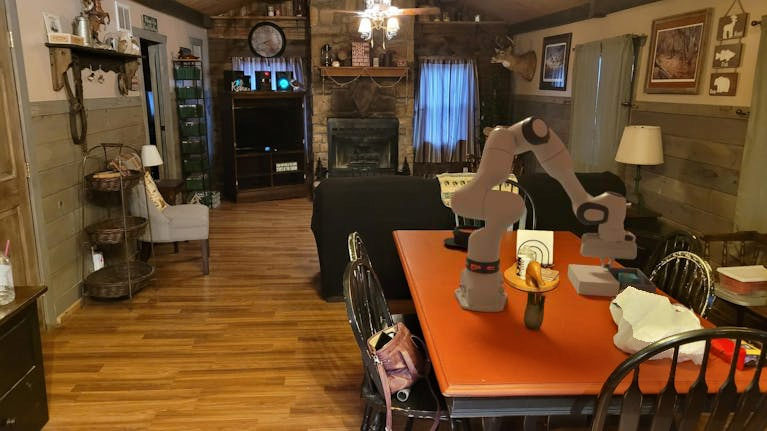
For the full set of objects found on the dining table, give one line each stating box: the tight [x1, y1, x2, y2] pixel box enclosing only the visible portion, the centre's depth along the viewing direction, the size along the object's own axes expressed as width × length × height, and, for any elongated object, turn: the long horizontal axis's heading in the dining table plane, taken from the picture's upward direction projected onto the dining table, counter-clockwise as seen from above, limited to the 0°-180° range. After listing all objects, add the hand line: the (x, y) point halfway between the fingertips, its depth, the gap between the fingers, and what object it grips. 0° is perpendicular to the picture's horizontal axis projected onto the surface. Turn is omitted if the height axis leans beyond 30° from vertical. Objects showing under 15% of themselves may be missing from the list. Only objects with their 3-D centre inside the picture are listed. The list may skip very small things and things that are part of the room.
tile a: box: [619, 273, 633, 288], centre depth 202 cm, size 6×6×2 cm
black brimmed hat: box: [443, 224, 484, 250], centre depth 258 cm, size 25×19×8 cm
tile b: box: [617, 273, 639, 284], centre depth 212 cm, size 6×6×2 cm
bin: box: [608, 266, 657, 295], centre depth 207 cm, size 20×12×5 cm, turn 173°
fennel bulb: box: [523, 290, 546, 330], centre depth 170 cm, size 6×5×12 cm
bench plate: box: [567, 263, 620, 297], centre depth 209 cm, size 20×14×5 cm
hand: (606, 268), depth 212 cm, fingers closed
